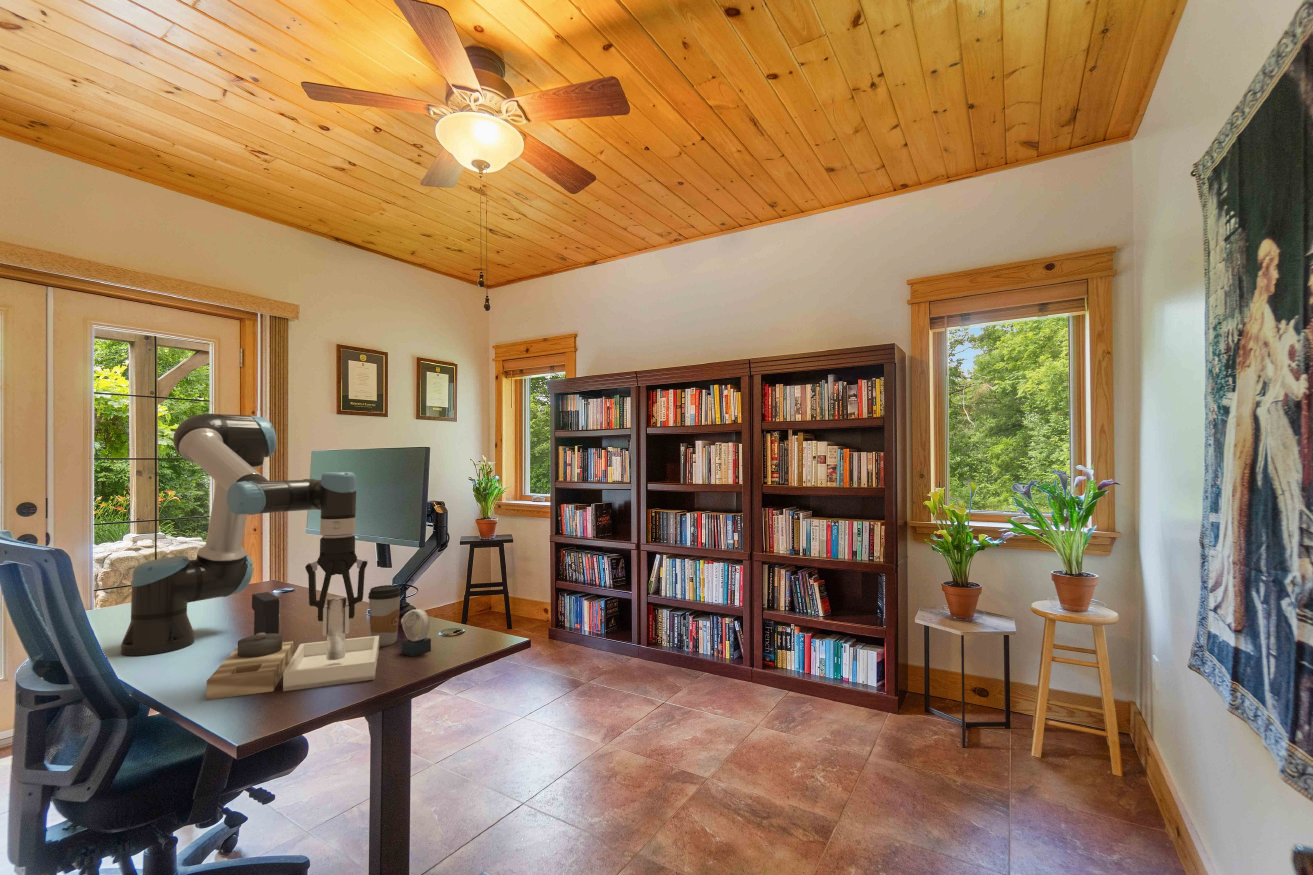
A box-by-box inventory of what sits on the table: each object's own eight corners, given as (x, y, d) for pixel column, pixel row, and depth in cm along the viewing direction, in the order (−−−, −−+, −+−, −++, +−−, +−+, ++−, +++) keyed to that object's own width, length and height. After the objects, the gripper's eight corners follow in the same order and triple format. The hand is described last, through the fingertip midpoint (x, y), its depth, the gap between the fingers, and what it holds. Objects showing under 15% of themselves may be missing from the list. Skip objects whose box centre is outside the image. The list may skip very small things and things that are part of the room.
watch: (415, 646, 159) (415, 605, 160) (435, 651, 155) (435, 609, 156) (396, 652, 155) (397, 610, 155) (416, 657, 150) (417, 614, 151)
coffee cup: (387, 648, 158) (388, 591, 159) (360, 646, 160) (361, 590, 160) (407, 639, 166) (407, 585, 167) (380, 637, 168) (381, 584, 168)
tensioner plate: (236, 663, 146) (237, 630, 147) (293, 657, 151) (293, 624, 151) (206, 699, 124) (207, 660, 125) (273, 691, 129) (274, 652, 129)
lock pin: (327, 655, 144) (328, 597, 144) (345, 653, 145) (346, 596, 146) (325, 660, 140) (326, 601, 140) (344, 658, 141) (345, 599, 142)
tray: (300, 659, 149) (300, 643, 149) (379, 650, 156) (379, 635, 156) (283, 691, 129) (283, 672, 129) (374, 679, 136) (374, 661, 136)
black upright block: (281, 656, 152) (283, 597, 152) (262, 660, 149) (263, 600, 149) (269, 647, 159) (270, 591, 160) (250, 651, 156) (251, 593, 157)
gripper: (294, 539, 137) (292, 641, 136) (375, 535, 143) (374, 633, 143) (300, 535, 144) (298, 632, 143) (377, 532, 150) (375, 625, 150)
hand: (336, 632), depth 143 cm, fingers closed on lock pin, 4 cm apart
